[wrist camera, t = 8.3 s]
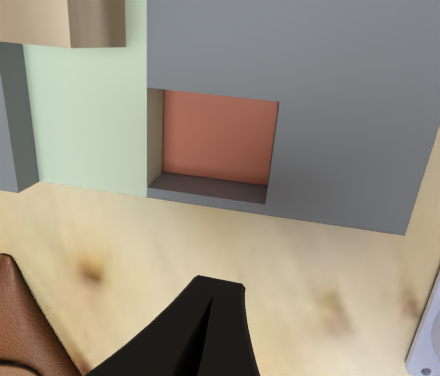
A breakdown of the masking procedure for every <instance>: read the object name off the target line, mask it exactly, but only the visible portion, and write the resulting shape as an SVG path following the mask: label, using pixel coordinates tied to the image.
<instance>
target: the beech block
mask: <svg viewBox="0 0 440 376" xmlns="http://www.w3.org/2000/svg"><path fill="white" fill-rule="evenodd" d="M0 42H10V43H20V44H31V45H42V46H52V47H63V48H110V47H126V27H125V0H0Z"/></svg>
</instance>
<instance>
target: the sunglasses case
mask: <svg viewBox="0 0 440 376" xmlns="http://www.w3.org/2000/svg"><path fill="white" fill-rule="evenodd" d="M0 376H81V375H80V373H79V371H78V370H77V369H76V367H75V365H74V364H73V362H72V361H71V359H70V358H69V356H68V354H67V353H66V351H65V349H64V348H63V346H62V345H61V343H60V342H59V340H58V338H57V337H56V335H55V333H54V331H53V330H52V328H51V327H50V325H49V323H48V322H47V320H46V318H45V316H44V315H43V313H42V312H41V310H40V309H39V307H38V306H37V304H36V302H35V300H34V298H33V296H32V294H31V292H30V290H29V289H28V287H27V285H26V283H25V281H24V279H23V277H22V273H21V271H20V270H19V268H18V267H17V265H16V264H15V262H14V261H13V259H12V257H11V256H9V255H7V254H4V253H1V254H0Z"/></svg>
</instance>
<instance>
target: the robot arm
mask: <svg viewBox="0 0 440 376" xmlns="http://www.w3.org/2000/svg"><path fill="white" fill-rule="evenodd" d="M405 367H406V370H407V372H408V373H409V374H411V375H414V376H440V271H439V274H438V276H437V279H436V282H435V284H434V287H433V290H432V292H431V295H430V298H429V301H428V303H427V306H426V309H425V311H424V314H423V317H422V319H421V322H420V325H419V327H418V330H417V333H416V335H415V338H414V341H413V344H412V346H411V349H410V352H409V354H408V357H407V360H406V362H405ZM424 368H427V369H424ZM84 376H260V374H259V370H258V367H257V363H256V360H255V356H254V352H253V348H252V343H251V339H250V334H249V330H248V324H247V317H246V310H245V287H244V286H243V284H241V283H236V282H231V281H225V280H220V279H215V278H210V277H205V276H200V275H198V276H196V277H194V278H193V279H192V281H191V282H190V283H189V284H188V285H187V287H186V288H185V289H184V290H183V291H182V292H181V293H180V294H179V295H178V296H177V297H176V298H175V300H174V301H173V302H172V303H171V304H170V305H169V306H168V307H167V308H166V309H165V310H164V311H162V312H161V313H160V314H159V315H158V316H157V317H156V318H155V319H154V320H153V321H152V322H151V323H150V324H149V325H148V326H147V327H145V328H144V329H143V330H142V331H141V332H140V333H138V334H137V335H136V336H135V337H134V338H133V339H131V340H130V341H129V342H128V343H127V344H126V345H124V346H123V347H122V348H121V349H119V350H118V351H117V352H116V353H114V354H113V355H112V356H110V357H109V358H108V359H106V360H105V361H104V362H102V363H101V364H100V365H98V366H97V367H95V368H94V369H93V370H91V371H90V372H89V373H87V374H86V375H84Z"/></svg>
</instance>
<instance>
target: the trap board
mask: <svg viewBox="0 0 440 376" xmlns="http://www.w3.org/2000/svg"><path fill="white" fill-rule="evenodd" d="M125 27H126V47H110V48H63V47H52V46H42V45H31V44H20V43H10V42H0V190H2V191H9V192H15V193H19V192H21V191H23V190H25V189H26V188H28V187H30V186H32V185H34V184H36V183H37V182H39V181H40V182H47V183H54V184H60V185H67V186H74V187H80V188H87V189H94V190H101V191H107V192H114V193H121V194H128V195H134V196H141V197H148V198H154V199H161V200H168V201H175V202H181V203H188V204H195V205H202V206H208V207H215V208H222V209H228V210H235V211H242V212H249V213H255V214H262V215H269V216H276V217H282V218H289V219H296V220H302V221H309V222H316V223H323V224H329V225H336V226H343V227H349V228H356V229H363V230H370V231H376V232H383V233H390V234H397V235H403V236H405V233H406V230H407V226H408V223H409V220H410V217H411V214H412V211H413V207H414V204H415V201H416V198H417V195H418V191H419V188H420V185H421V182H422V179H423V175H424V172H425V169H426V166H427V163H428V160H429V156H430V153H431V150H432V147H433V144H434V140H435V137H436V134H437V131H438V128H439V124H440V0H125ZM279 102H280V103H279ZM278 104H279V110H278ZM277 111H278V117H277ZM276 118H277V124H276ZM275 126H276V131H275ZM274 133H275V139H274ZM273 140H274V146H273ZM272 147H273V153H272ZM271 155H272V160H271ZM270 162H271V167H270ZM269 169H270V175H269ZM268 176H269V182H268Z"/></svg>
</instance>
